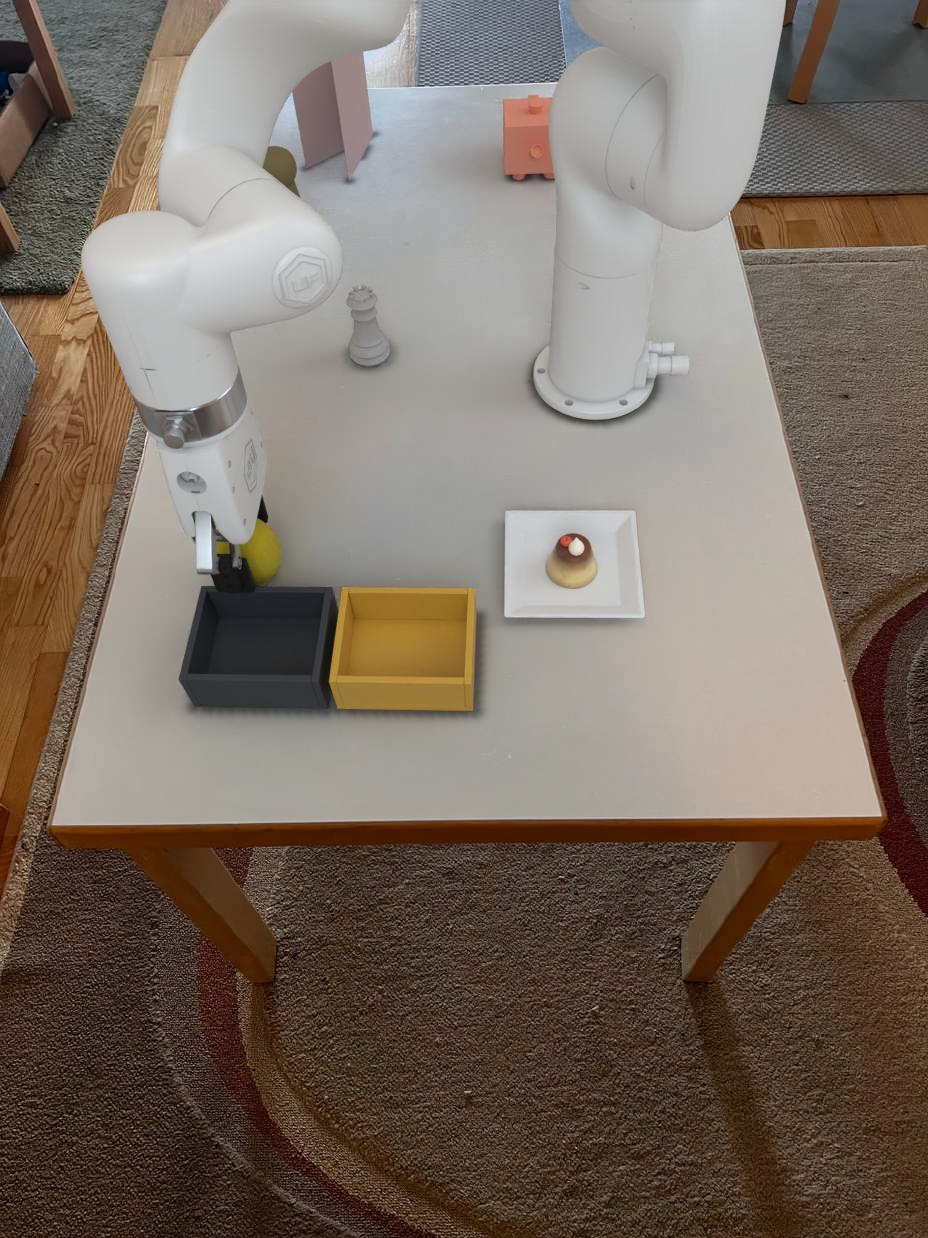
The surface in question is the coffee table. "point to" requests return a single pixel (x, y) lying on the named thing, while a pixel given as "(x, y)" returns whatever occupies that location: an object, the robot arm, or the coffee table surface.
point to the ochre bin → (405, 649)
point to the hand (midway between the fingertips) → (243, 553)
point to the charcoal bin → (261, 648)
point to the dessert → (572, 564)
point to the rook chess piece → (366, 329)
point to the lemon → (259, 552)
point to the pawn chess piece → (281, 167)
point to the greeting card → (334, 111)
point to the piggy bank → (527, 137)
